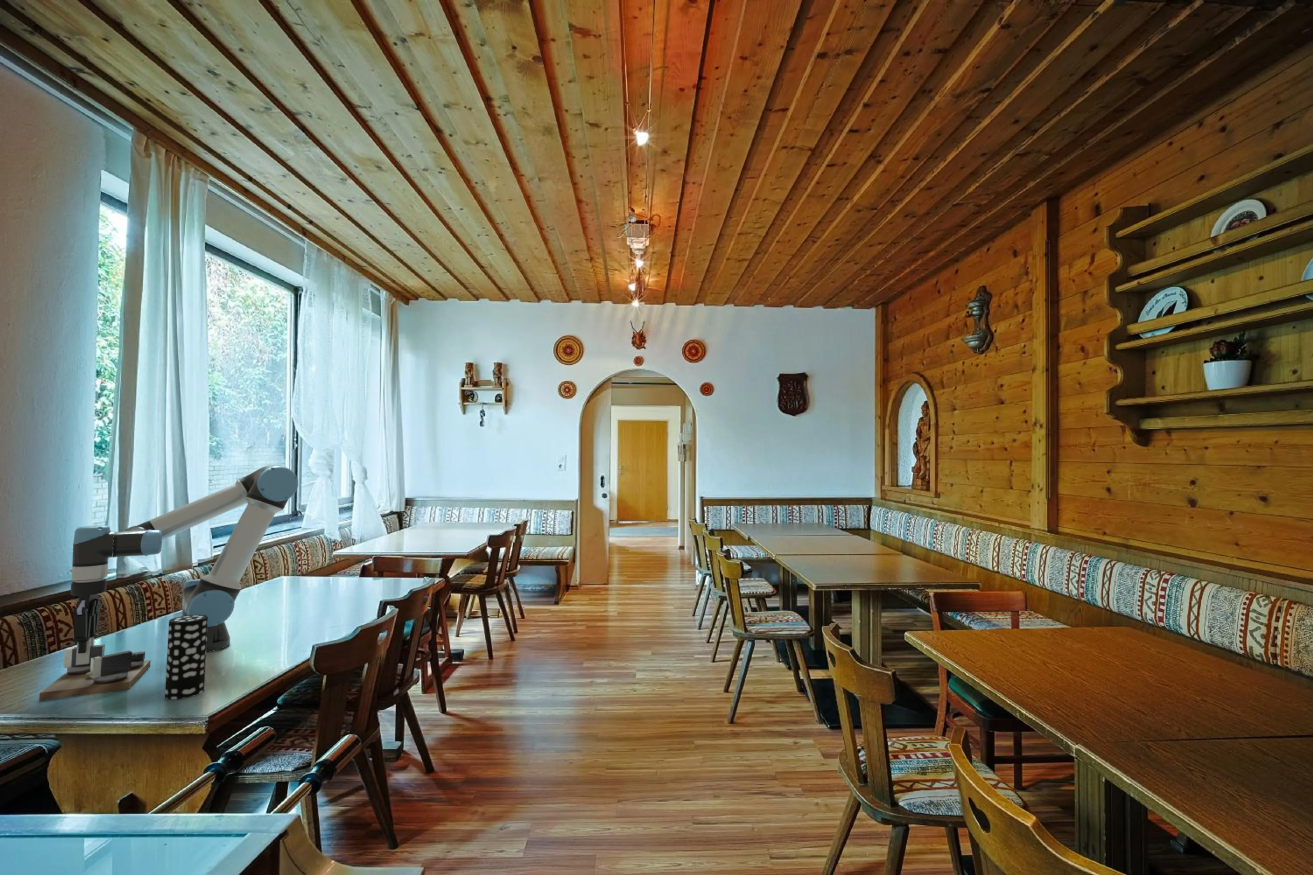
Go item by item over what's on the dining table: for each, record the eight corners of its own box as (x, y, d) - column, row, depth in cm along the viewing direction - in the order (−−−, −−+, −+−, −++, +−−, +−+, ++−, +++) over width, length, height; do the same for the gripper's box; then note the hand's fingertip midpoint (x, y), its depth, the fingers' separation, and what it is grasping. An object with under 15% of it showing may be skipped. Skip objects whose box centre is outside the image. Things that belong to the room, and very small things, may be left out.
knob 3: (147, 660, 178) (147, 648, 178) (140, 667, 172) (140, 655, 172) (116, 664, 175) (116, 651, 175) (107, 671, 169) (108, 658, 169)
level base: (150, 666, 180) (150, 655, 180) (129, 689, 162) (129, 677, 162) (70, 675, 171) (71, 664, 171) (39, 700, 154) (39, 687, 154)
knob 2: (124, 671, 168) (126, 648, 169) (134, 676, 165) (135, 653, 165) (86, 680, 162) (88, 656, 162) (95, 685, 158) (96, 661, 158)
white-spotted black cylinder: (179, 687, 163) (183, 614, 164) (211, 687, 164) (215, 614, 165) (156, 699, 155) (160, 622, 156) (190, 699, 156) (194, 622, 157)
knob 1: (106, 664, 175) (107, 641, 175) (98, 671, 168) (99, 648, 169) (69, 668, 171) (71, 645, 171) (59, 676, 165) (60, 652, 165)
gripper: (82, 576, 176) (77, 656, 175) (60, 585, 162) (55, 672, 161) (115, 574, 179) (110, 653, 178) (97, 583, 166) (92, 668, 165)
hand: (84, 662), depth 170 cm, fingers closed on knob 1, 2 cm apart
